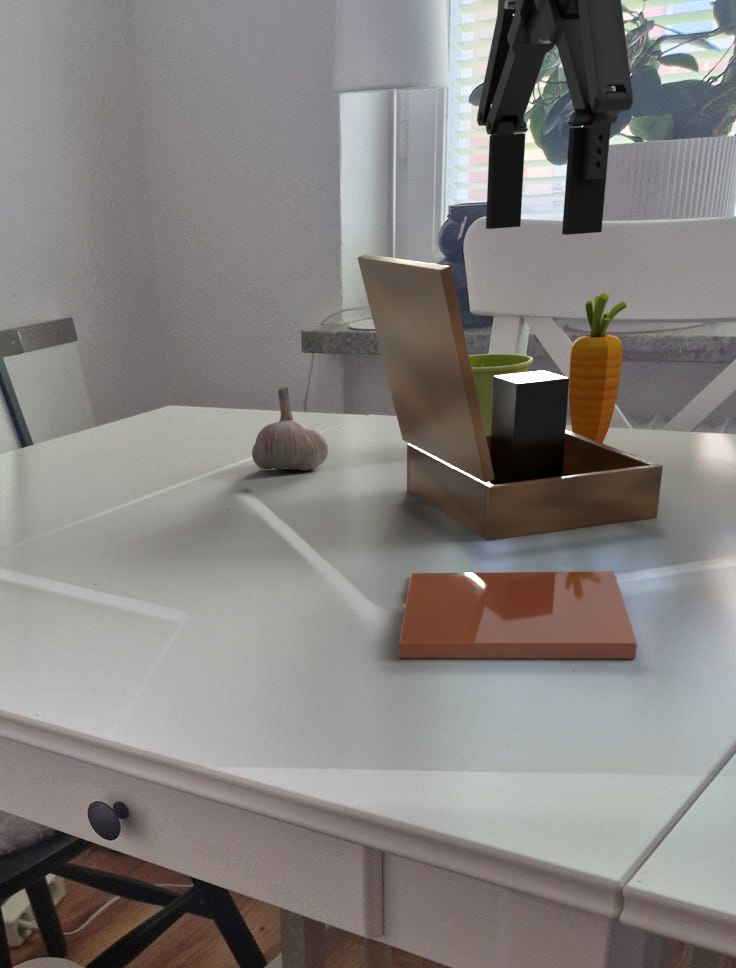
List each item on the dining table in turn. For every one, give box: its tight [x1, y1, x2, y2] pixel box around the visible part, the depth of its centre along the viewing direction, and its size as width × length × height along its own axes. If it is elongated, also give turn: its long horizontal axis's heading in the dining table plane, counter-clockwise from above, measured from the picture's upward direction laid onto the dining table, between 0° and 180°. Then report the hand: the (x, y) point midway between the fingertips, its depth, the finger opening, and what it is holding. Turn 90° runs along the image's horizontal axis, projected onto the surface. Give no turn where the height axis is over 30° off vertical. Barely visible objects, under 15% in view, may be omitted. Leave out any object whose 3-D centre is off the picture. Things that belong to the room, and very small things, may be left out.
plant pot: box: [469, 353, 534, 435], centre depth 117 cm, size 9×9×9 cm
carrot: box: [568, 292, 627, 444], centre depth 108 cm, size 5×5×15 cm
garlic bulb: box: [251, 384, 329, 471], centre depth 116 cm, size 8×7×8 cm
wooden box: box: [406, 429, 663, 542], centre depth 97 cm, size 14×18×5 cm
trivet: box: [398, 570, 638, 660], centre depth 76 cm, size 14×14×1 cm
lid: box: [357, 253, 495, 483], centre depth 91 cm, size 15×18×1 cm
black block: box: [489, 370, 569, 485], centre depth 96 cm, size 4×4×10 cm
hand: (539, 231), depth 89 cm, fingers open, 13 cm apart
